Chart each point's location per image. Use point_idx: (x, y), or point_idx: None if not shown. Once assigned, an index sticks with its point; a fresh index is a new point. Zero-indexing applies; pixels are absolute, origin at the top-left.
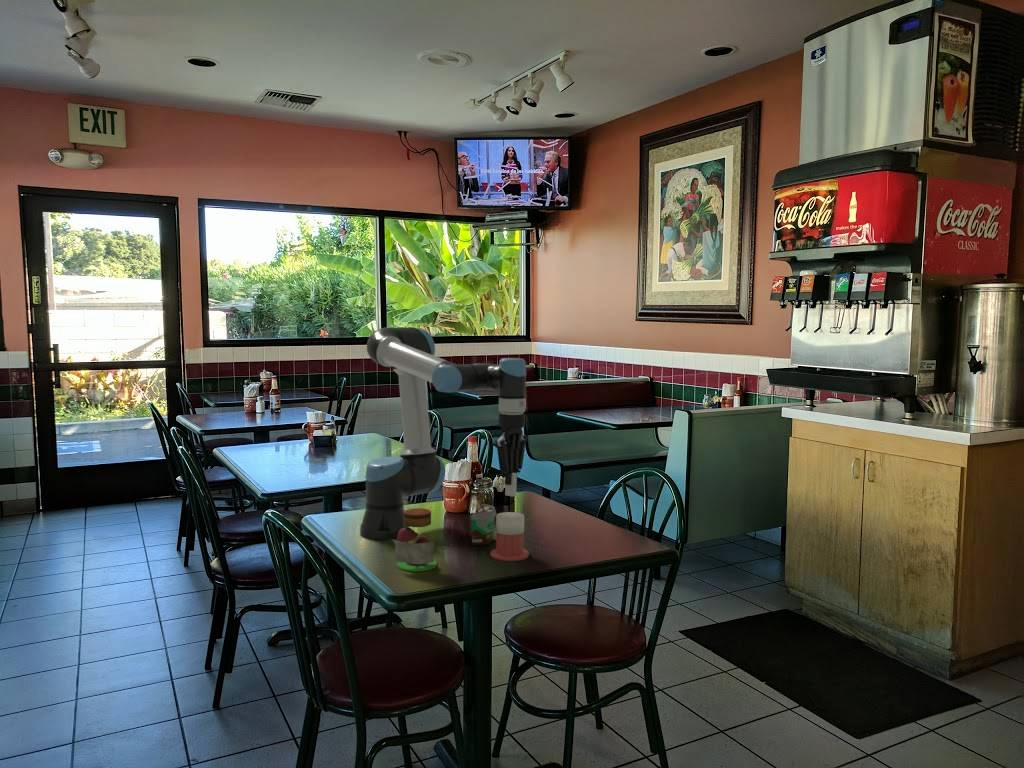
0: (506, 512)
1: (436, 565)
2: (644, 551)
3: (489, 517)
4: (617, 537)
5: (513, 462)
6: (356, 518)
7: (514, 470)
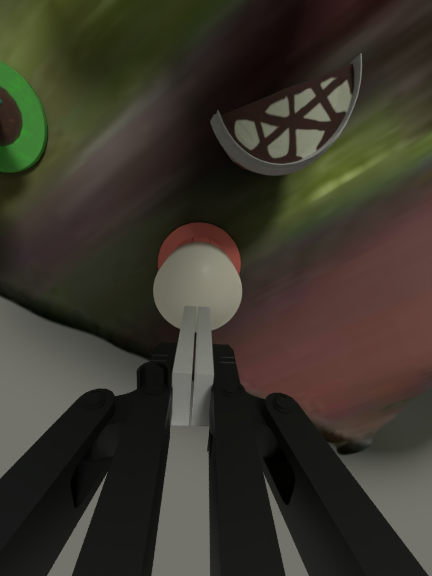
0: (225, 262)
1: (30, 166)
2: (338, 426)
3: (255, 171)
4: (404, 369)
5: (212, 484)
6: None
7: (210, 426)
